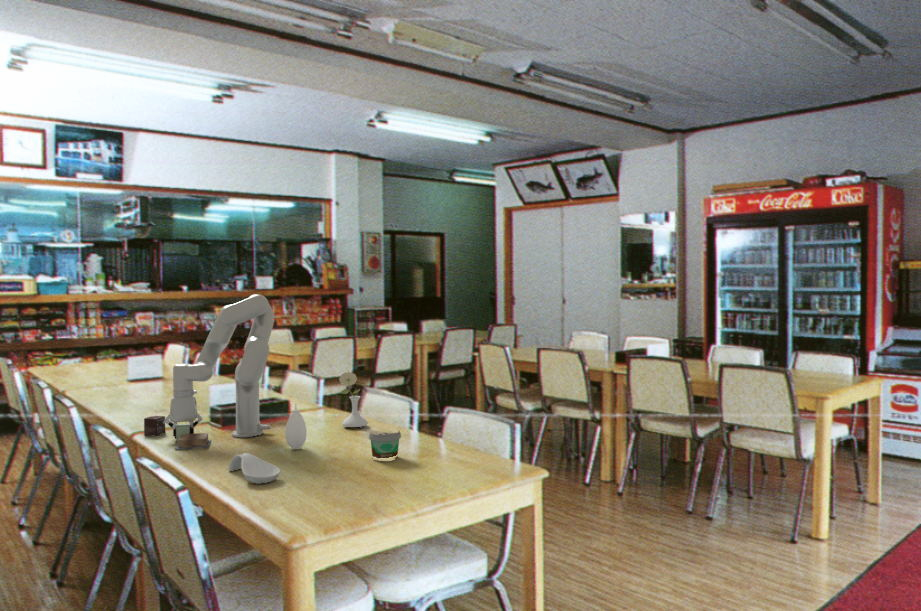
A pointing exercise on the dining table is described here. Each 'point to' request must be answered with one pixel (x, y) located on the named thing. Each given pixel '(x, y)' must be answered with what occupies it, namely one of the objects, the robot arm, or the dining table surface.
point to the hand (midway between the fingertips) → (183, 437)
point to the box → (154, 425)
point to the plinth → (193, 441)
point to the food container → (385, 444)
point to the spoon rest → (254, 468)
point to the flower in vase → (354, 418)
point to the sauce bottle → (295, 430)
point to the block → (182, 430)
